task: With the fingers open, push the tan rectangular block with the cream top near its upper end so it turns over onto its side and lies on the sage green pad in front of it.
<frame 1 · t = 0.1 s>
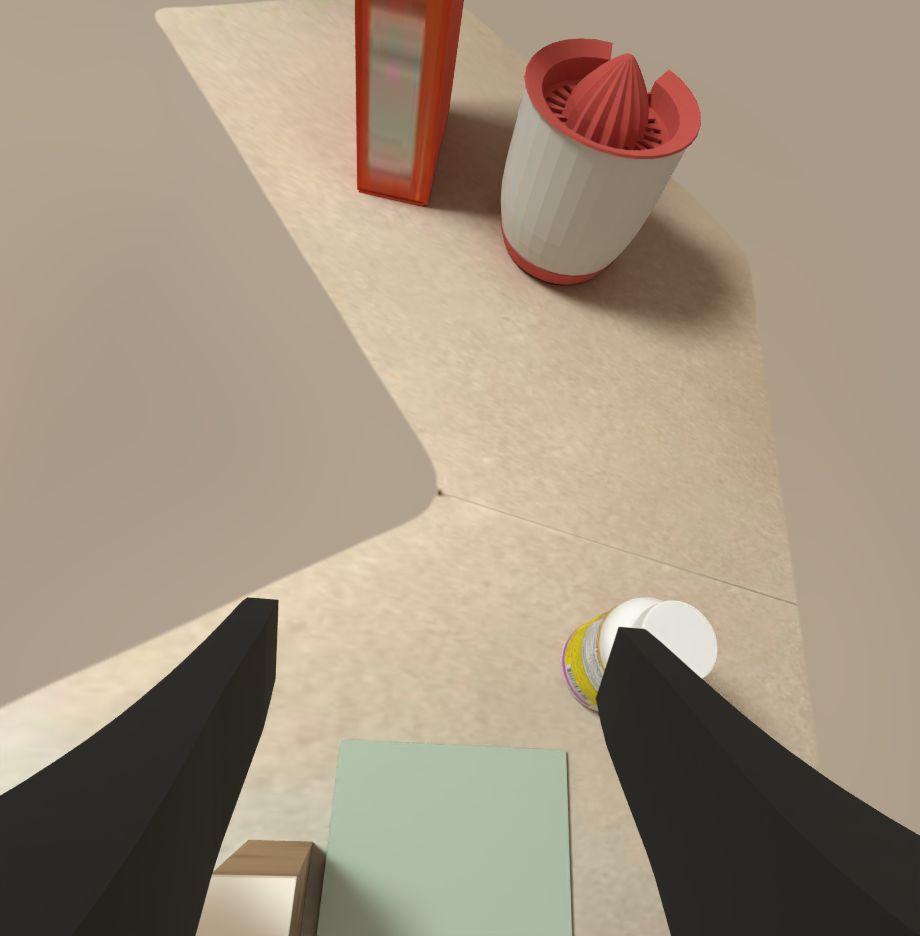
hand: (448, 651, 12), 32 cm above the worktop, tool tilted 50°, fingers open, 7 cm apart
tan rectangular block: (271, 898, 35), on the worktop
green pad: (448, 901, 37), on the worktop
citrus juicer: (556, 243, 64), on the worktop
file binder: (404, 150, 67), on the worktop
supplement bottle: (597, 666, 45), on the worktop
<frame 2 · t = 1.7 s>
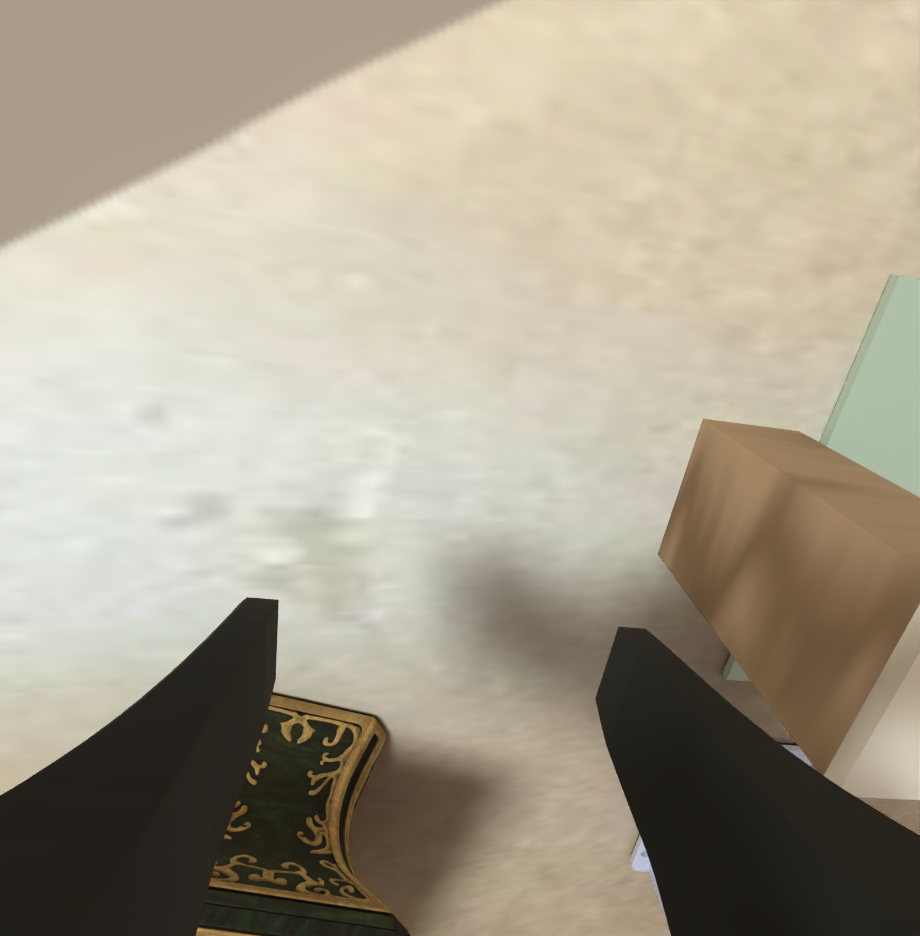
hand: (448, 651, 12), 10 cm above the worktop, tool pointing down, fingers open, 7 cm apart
tan rectangular block: (725, 495, 23), on the worktop
decorative box: (280, 771, 28), on the worktop
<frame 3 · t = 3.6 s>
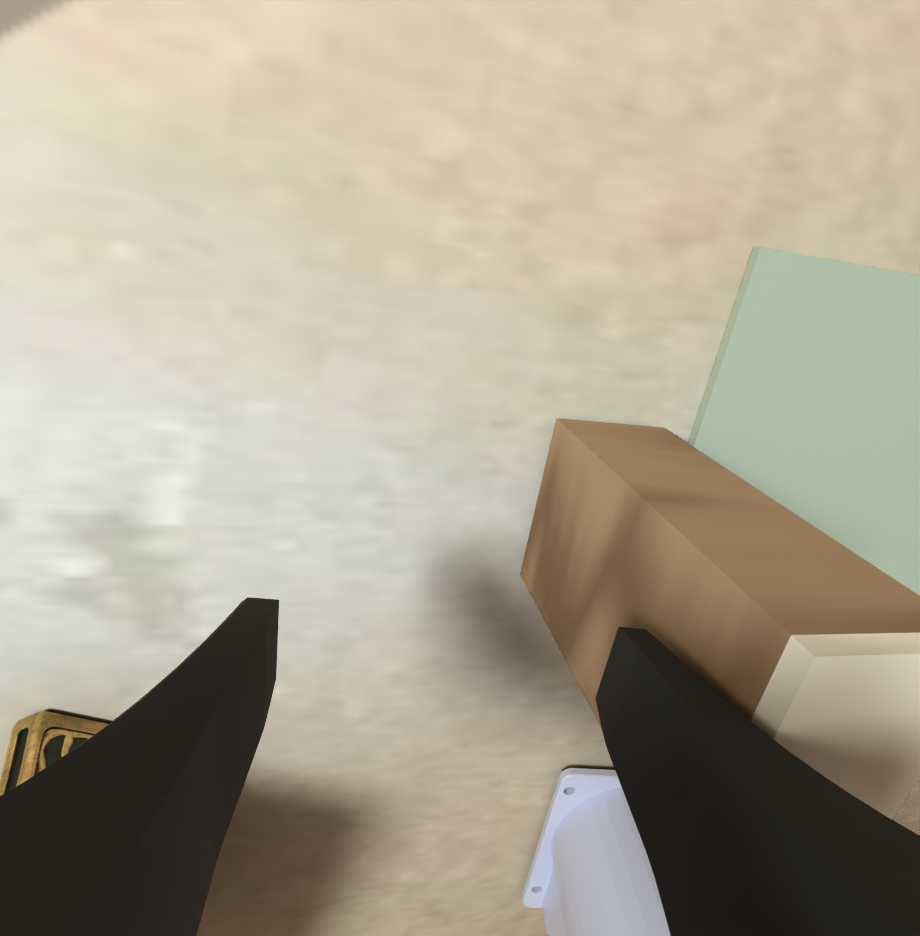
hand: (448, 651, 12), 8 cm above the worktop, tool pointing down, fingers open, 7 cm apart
tan rectangular block: (590, 503, 20), on the worktop, tilted 8°
green pad: (862, 530, 22), on the worktop
decorative box: (118, 803, 25), on the worktop
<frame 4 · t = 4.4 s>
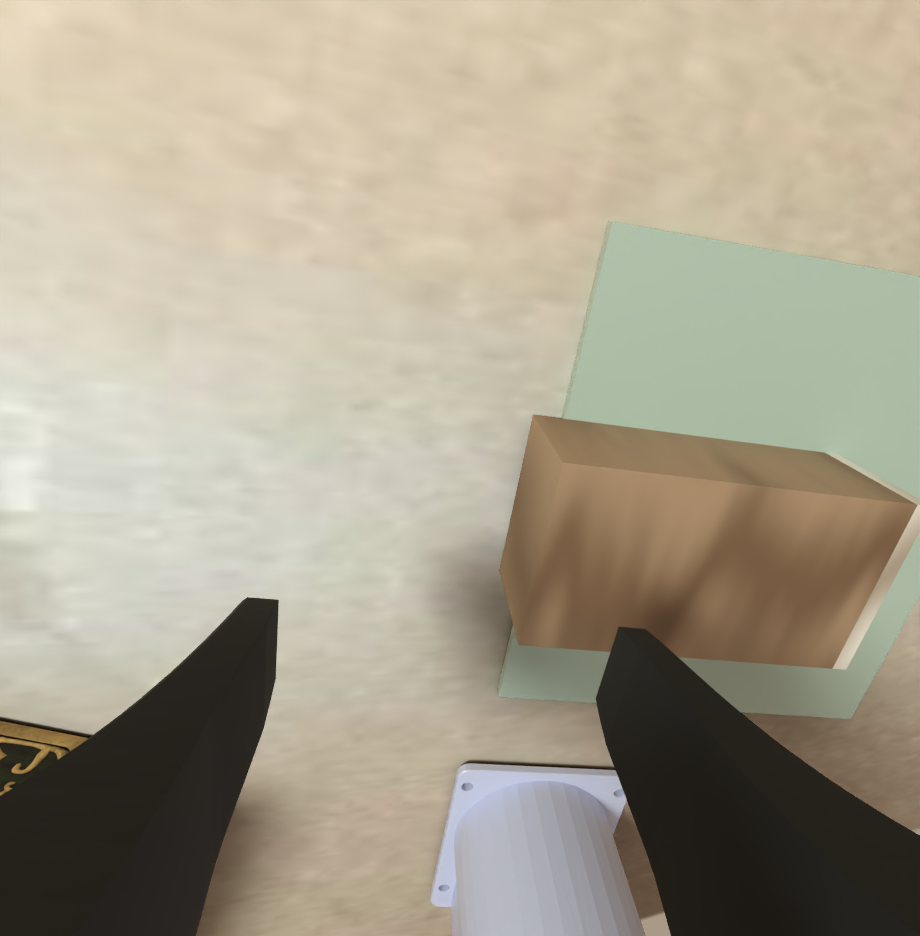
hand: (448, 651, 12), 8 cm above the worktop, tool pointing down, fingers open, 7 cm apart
tan rectangular block: (525, 525, 18), point 2 cm above the worktop, tilted 90°, touching green pad
green pad: (751, 518, 21), on the worktop
decorative box: (3, 799, 24), on the worktop
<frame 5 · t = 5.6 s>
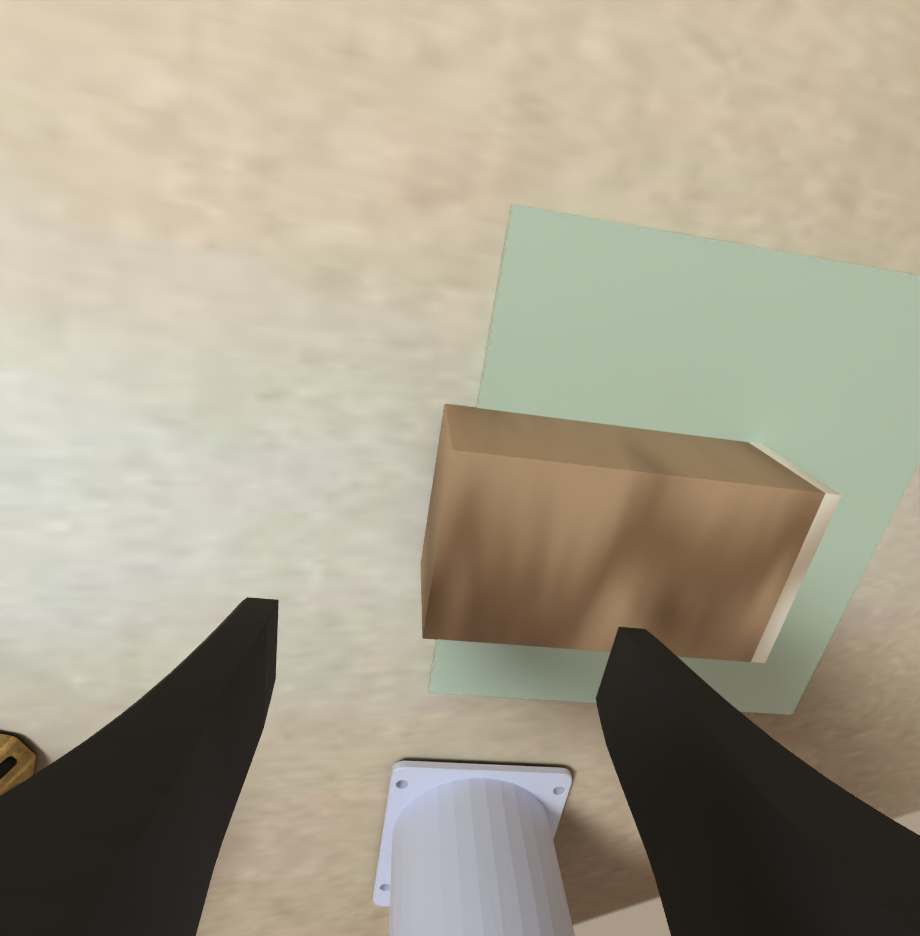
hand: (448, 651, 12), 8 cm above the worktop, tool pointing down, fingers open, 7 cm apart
tan rectangular block: (434, 516, 18), point 2 cm above the worktop, tilted 90°, touching green pad
green pad: (678, 510, 21), on the worktop
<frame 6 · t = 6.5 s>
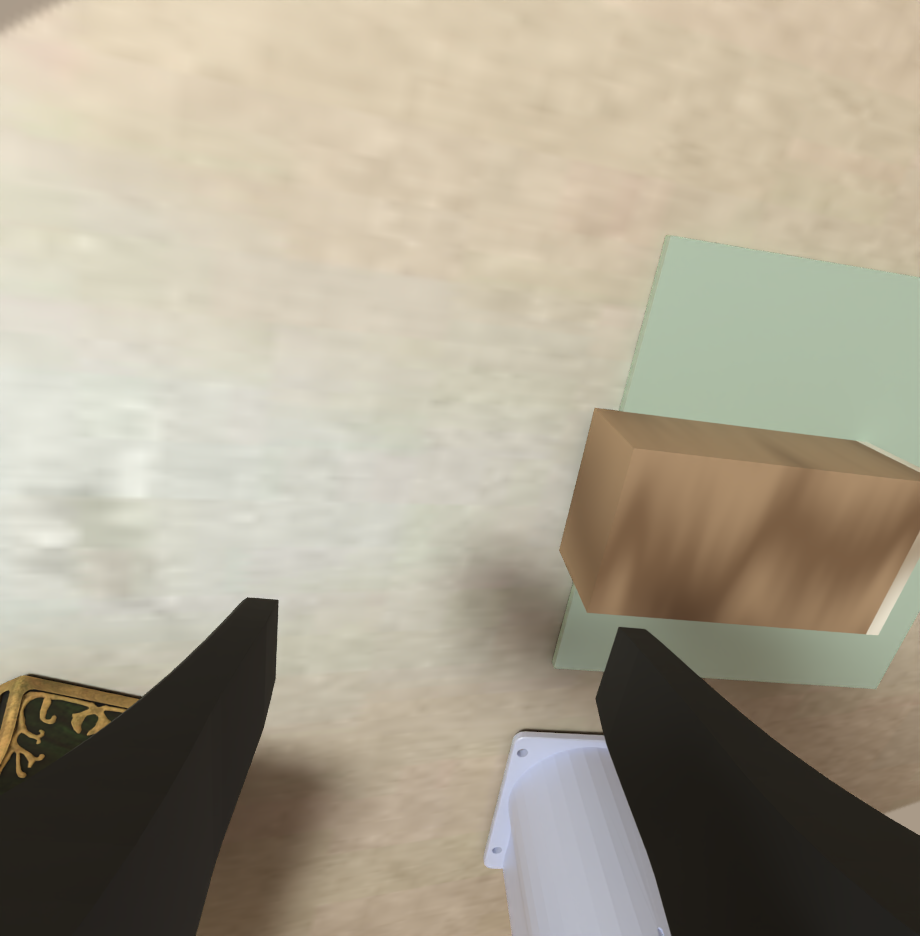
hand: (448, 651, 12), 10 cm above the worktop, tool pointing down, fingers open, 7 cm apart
tan rectangular block: (591, 506, 20), point 2 cm above the worktop, tilted 90°, touching green pad
green pad: (787, 501, 23), on the worktop
decorative box: (97, 765, 27), on the worktop
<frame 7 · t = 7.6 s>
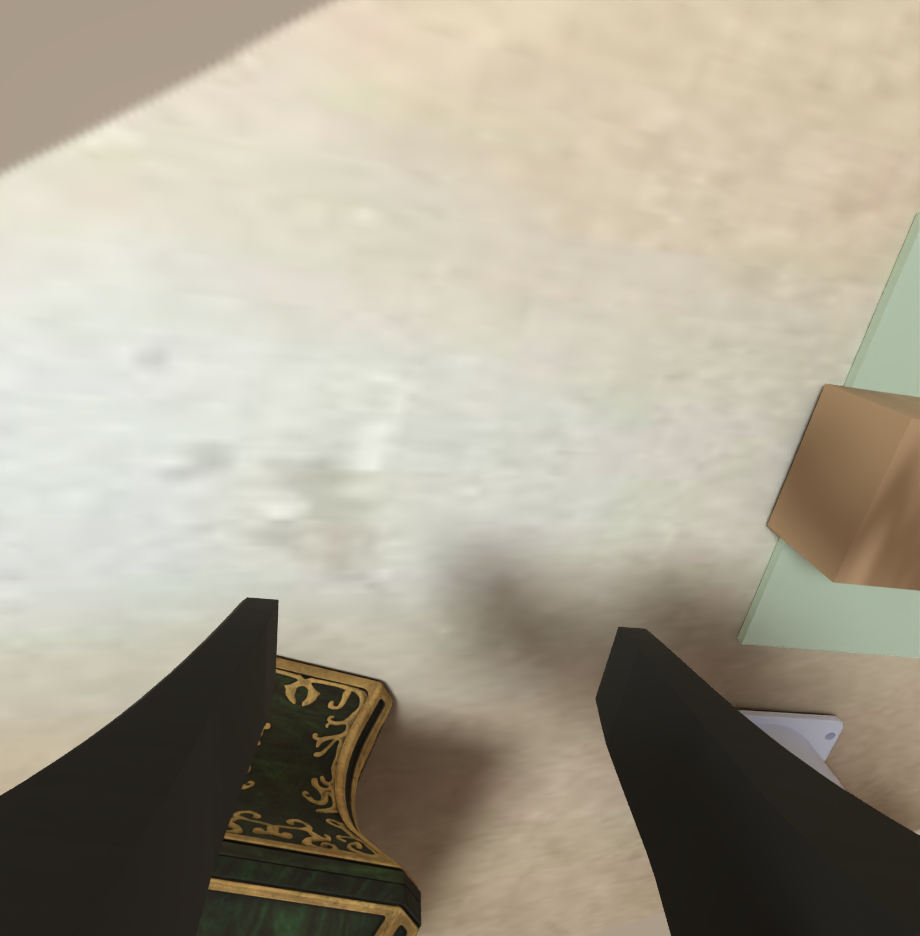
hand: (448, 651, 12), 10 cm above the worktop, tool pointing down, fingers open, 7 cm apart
tan rectangular block: (828, 479, 20), point 2 cm above the worktop, tilted 90°, touching green pad
decorative box: (283, 739, 27), on the worktop
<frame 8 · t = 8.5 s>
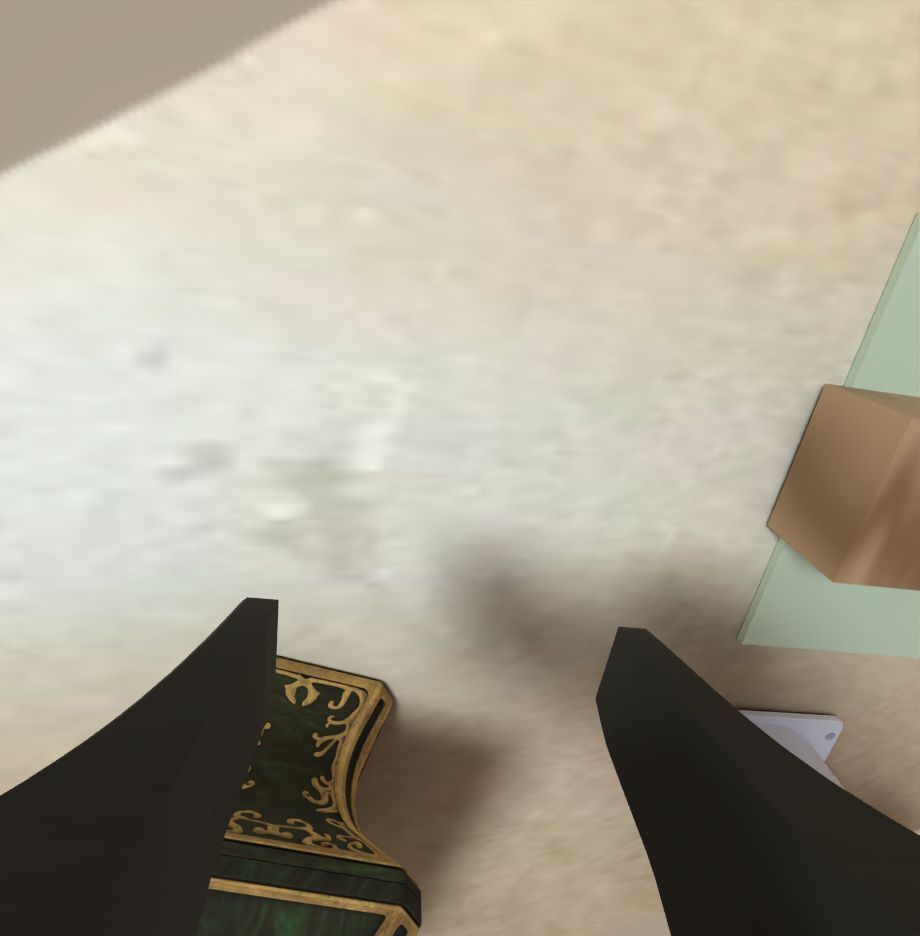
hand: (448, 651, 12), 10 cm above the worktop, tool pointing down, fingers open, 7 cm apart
tan rectangular block: (828, 479, 20), point 2 cm above the worktop, tilted 90°, touching green pad
decorative box: (283, 739, 27), on the worktop
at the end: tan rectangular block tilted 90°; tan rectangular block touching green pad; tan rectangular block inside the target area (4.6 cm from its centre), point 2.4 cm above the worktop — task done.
